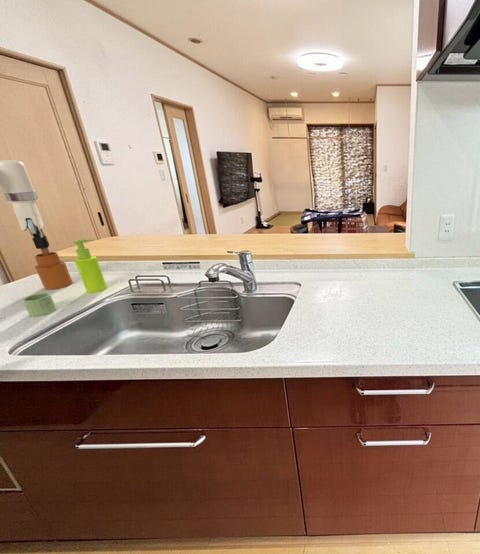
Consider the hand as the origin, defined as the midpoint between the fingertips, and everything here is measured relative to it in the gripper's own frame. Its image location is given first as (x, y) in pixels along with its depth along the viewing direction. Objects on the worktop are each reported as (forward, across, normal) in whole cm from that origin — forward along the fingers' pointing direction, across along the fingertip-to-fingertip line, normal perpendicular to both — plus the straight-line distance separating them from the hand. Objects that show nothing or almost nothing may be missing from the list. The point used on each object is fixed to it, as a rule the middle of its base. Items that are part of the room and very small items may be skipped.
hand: (43, 246), depth 112 cm
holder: (+16, +28, -2) cm, 32 cm away
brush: (+13, 0, 0) cm, 13 cm away
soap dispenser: (+16, +16, +12) cm, 26 cm away
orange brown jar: (+16, 0, 0) cm, 16 cm away
